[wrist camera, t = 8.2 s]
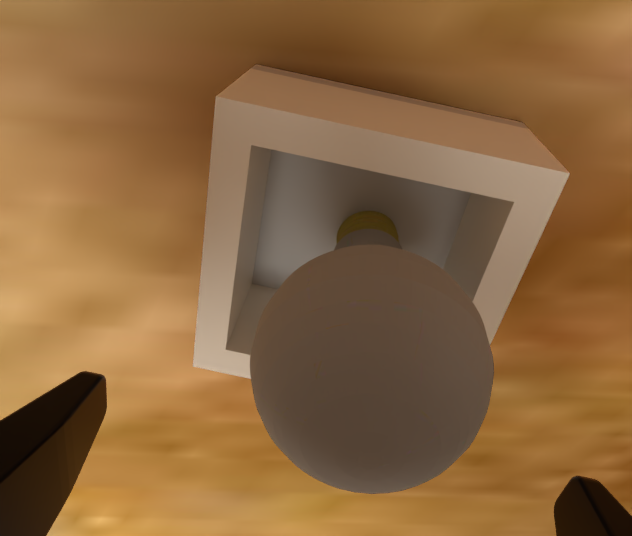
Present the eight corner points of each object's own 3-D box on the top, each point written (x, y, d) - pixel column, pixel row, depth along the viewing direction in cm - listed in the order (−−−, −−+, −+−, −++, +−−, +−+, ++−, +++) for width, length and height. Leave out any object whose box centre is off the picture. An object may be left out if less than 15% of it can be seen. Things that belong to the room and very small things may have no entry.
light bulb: (480, 221, 18) (589, 458, 9) (374, 318, 20) (381, 580, 12) (358, 119, 16) (351, 286, 8) (261, 237, 19) (172, 464, 10)
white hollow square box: (522, 122, 17) (569, 173, 13) (439, 333, 21) (453, 422, 17) (255, 64, 17) (215, 96, 13) (229, 288, 21) (192, 366, 17)
